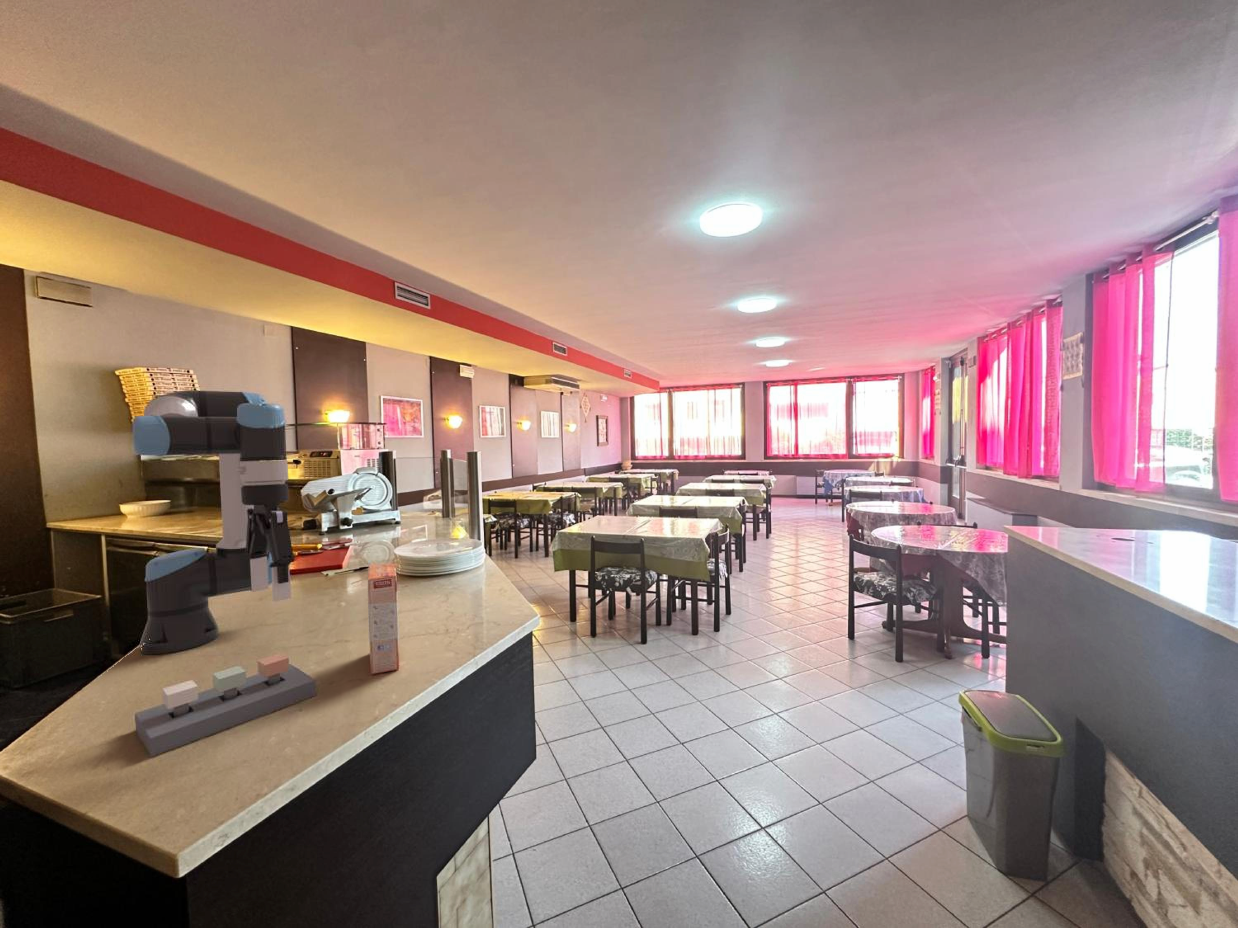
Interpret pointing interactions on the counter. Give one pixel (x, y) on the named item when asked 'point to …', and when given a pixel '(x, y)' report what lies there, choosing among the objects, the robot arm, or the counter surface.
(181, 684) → the key ivory
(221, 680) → the key sage
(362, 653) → the counter surface
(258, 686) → the console
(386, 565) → the cracker box
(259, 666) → the key terracotta
